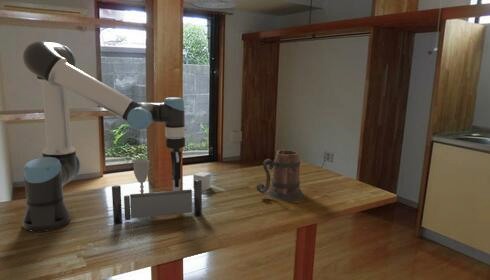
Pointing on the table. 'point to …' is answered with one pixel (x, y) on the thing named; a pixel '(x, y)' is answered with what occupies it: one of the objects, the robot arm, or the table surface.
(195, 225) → the table surface
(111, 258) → the table surface
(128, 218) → the gate leaf
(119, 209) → the gate frame
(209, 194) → the table surface
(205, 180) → the product box
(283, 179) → the tankard
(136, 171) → the chalice
